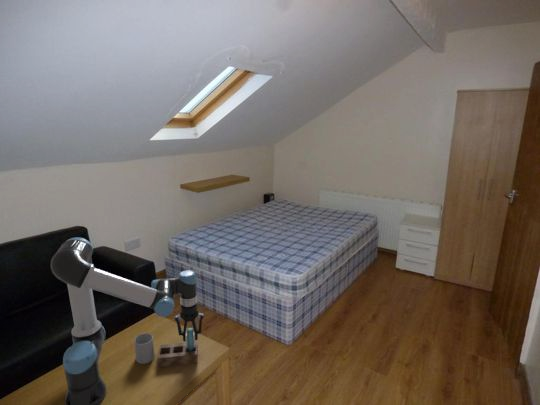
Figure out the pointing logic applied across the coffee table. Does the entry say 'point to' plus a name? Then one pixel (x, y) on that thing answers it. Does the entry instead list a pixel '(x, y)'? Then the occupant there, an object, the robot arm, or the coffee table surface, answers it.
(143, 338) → the mug
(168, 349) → the hole block
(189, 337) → the peg
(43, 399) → the coffee table surface
